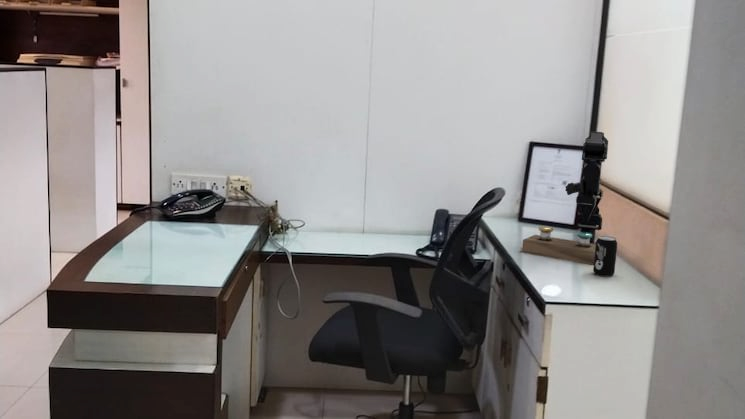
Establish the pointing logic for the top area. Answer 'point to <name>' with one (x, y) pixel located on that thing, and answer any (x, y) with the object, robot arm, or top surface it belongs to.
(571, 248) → the walnut block
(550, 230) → the plunger ochre
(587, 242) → the plunger teal
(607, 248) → the beverage can
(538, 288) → the top surface
